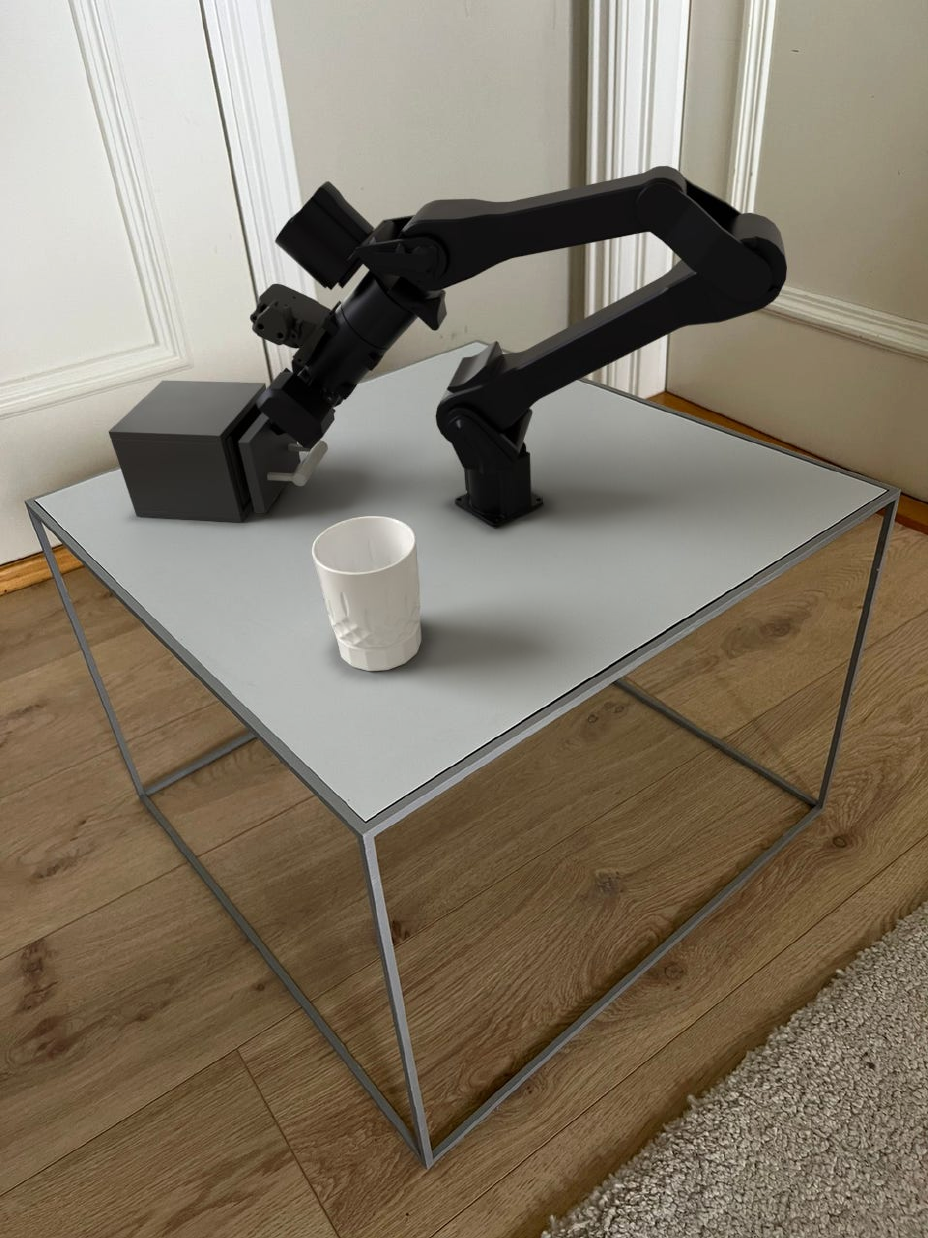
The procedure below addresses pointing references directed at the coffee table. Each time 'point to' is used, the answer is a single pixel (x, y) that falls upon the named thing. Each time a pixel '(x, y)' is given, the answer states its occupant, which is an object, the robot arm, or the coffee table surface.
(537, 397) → the robot arm
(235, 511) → the cabinet
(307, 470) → the drawer
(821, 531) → the coffee table surface
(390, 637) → the white cup
